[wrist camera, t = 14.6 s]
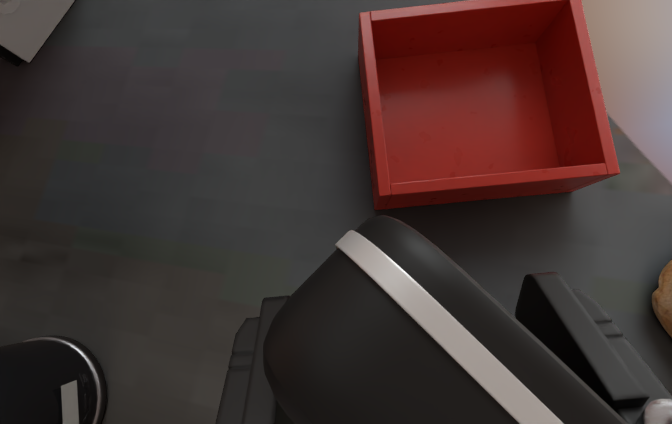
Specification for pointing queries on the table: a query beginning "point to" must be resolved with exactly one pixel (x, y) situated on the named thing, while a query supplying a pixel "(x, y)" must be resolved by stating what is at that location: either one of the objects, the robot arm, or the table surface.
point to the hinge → (28, 26)
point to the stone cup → (664, 298)
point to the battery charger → (413, 344)
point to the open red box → (481, 102)
